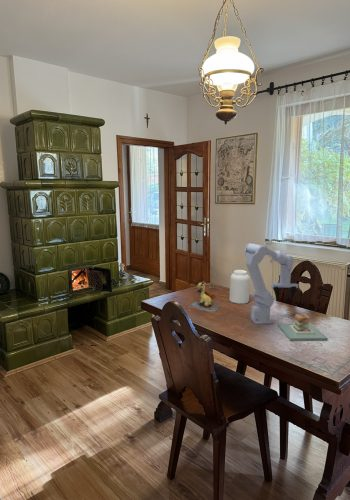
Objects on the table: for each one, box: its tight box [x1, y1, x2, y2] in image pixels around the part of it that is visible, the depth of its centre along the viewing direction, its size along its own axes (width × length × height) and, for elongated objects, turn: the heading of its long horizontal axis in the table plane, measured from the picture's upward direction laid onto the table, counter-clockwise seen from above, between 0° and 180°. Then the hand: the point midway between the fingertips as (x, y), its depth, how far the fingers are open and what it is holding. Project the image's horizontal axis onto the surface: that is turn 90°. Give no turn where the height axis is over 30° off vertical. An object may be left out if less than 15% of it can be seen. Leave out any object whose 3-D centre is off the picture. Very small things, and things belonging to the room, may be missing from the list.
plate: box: [277, 323, 329, 342], centre depth 172 cm, size 18×18×2 cm
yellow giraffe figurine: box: [188, 281, 222, 312], centre depth 210 cm, size 16×18×16 cm
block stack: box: [294, 313, 310, 332], centre depth 171 cm, size 5×5×8 cm
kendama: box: [198, 284, 216, 300], centre depth 235 cm, size 6×6×20 cm
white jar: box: [228, 269, 251, 304], centre depth 220 cm, size 12×12×20 cm
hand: (283, 299), depth 194 cm, fingers open, 7 cm apart
